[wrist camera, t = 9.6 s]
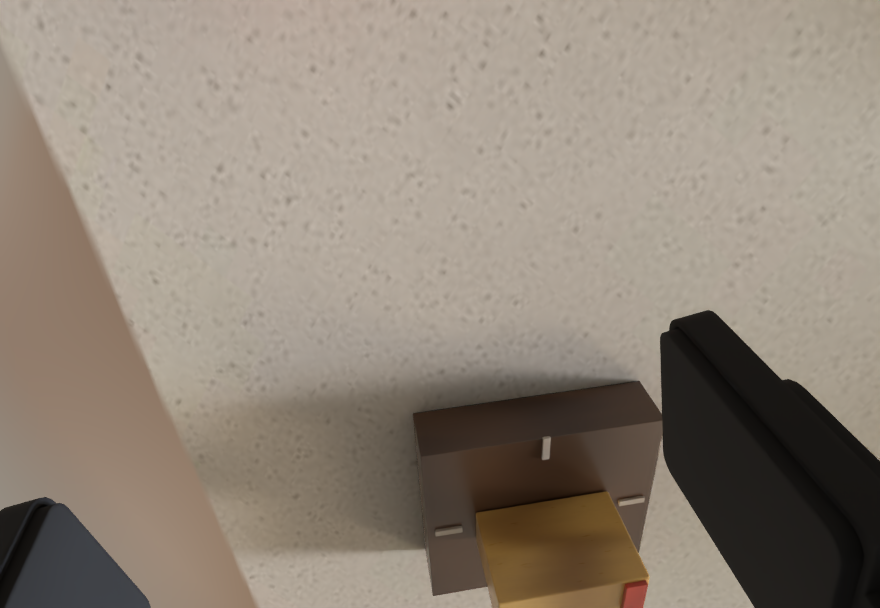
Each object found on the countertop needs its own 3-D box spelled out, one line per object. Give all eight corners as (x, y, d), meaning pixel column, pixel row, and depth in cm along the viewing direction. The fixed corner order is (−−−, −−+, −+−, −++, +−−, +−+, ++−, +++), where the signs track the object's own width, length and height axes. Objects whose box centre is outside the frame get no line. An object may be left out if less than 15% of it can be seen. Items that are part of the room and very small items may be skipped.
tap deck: (425, 551, 37) (433, 600, 34) (412, 411, 31) (420, 457, 28) (616, 519, 38) (638, 563, 36) (639, 379, 32) (668, 420, 30)
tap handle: (475, 539, 32) (499, 637, 28) (475, 511, 31) (499, 609, 27) (603, 518, 33) (646, 610, 29) (607, 490, 32) (653, 581, 27)
